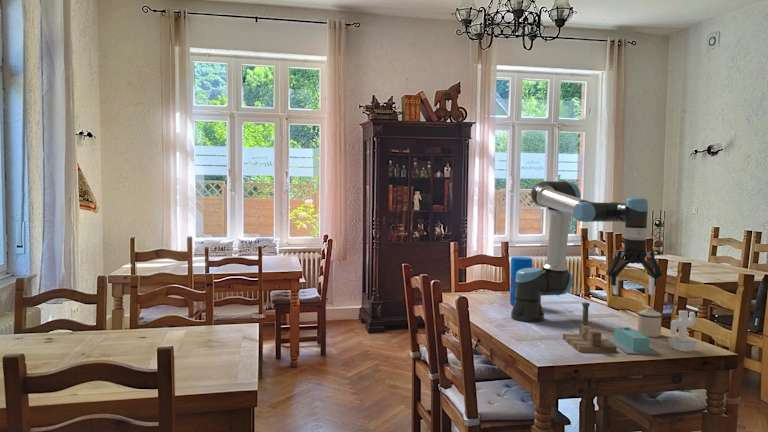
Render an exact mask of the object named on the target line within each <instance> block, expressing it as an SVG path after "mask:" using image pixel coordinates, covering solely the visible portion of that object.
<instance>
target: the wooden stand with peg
mask: <svg viewBox="0 0 768 432" xmlns="http://www.w3.org/2000/svg"><path fill="white" fill-rule="evenodd" d="M590 304H591V303H590V302H585V301H583V302H582V303H581V306H582V323H579V331H578V333H563V334H562V339H563V340H564V341H565V342H566V343H567V344H568V345H569V346H571V347H572V348H573V349H575V350H576V351H577V352H578V353H617V351H618V348H617V347H616V346H614V345H613V344H611V343H610V342H608V341H607V340H605V338H603V337H602V332H601V331H599V330H597V329H596V328H594V327H592V326H591V325H589V307H590Z"/></svg>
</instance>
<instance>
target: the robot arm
mask: <svg viewBox="0 0 768 432" xmlns="http://www.w3.org/2000/svg"><path fill="white" fill-rule="evenodd" d="M530 197H531V201H532V203H534V204H535V205H537V206H539V207H542V208H547V211H548V212H549V213H550V216H549V218H550V219H549V229H548V241H547V253H546V263H544V264H543V265H542V269H541V268H539V267H532V268H524V269H520V270H518V271H517V273H516V279H515V281H516V290H515V303H514V306H512V309H511V312H510V318H511V319H512V320H515V321H521V322H528V323H529V322H530V323H537V322H542V321H544V320H545V313H544V309H543V306H542V296H545V297H546V296H561V295H566V294H567V293H569V292H570V291H571V289H572V287H573V282H574V281H573V277H572V276H573V275H572V273H571V272H570V271H569V267H568V266H567V265H566V261H567V260H566V259H567V249H568V240H569V227H570V218H571V216H572V217H574V219H575V220H576V221H577V222H583V223H589V222H591V223H593V222H601V223H603V222H607V223H609V222H611V223H613V222H616V223H617V222H618V223H625V224H624V238H625V239H624V244H623V247H624V250H623V251H620V250H616V251H615V255H614V258H613V259H612V261H611V263H610V265H609V267H608V268H607V270H606V274H605V275H607V276H610V285H611V286H612V294H613V295H615V296H618V295H619V280H620V278H619V277H618V276H619V275H620V273H621V272H622V271H623V270H624V269H625V268H626V267H627V265H629V264H631V265H632V264H640V265H642V267H644V269H645V270H646V272H647V274H649V275H650V276H649V277H648V293H647V294H648V295H650V296H654V295H655V287H657V281H658V279H659V278H660V277H663V274H662V270H661V269H660V266H659V264H658V263H657V260H656V257H655V256H656V255H655V252H653V251H647V252H646V250H647V233H648V232H647V231H648V214H649V213H648V211H649V207H648V205H649V203H648V200H647V198H643V197H640V198H639V197H638V198H635V197H633V198H632V197H627V198H626V199H625V202H617V201H615V202H613V201H611V202H594V201H589V200H587V199H582V196H581V191H580V188H579V187H578V185H577V184H576V183H575V182H571V181H563V180H562V181H558V180H556V181H549V180H545V181H544V180H543V181H540V182H537V183H536V184H534V186H533V187H532V189H531V191H530ZM622 257H624V258H623V259H622ZM646 257H647V258H648V260H649V263H650V265H651V266H650V265H649V264H648V262H647V260H646V259H645V258H646ZM621 259H622V260H621ZM620 260H621V262H620ZM619 262H620V263H619Z"/></svg>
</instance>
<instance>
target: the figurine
mask: <svg viewBox="0 0 768 432" xmlns="http://www.w3.org/2000/svg"><path fill="white" fill-rule="evenodd" d="M688 315H689V316H688ZM695 323H696V313H695V312H694V311H689V313H688V310H678V319H672V320H671V322H670V334H671V335H677V330H678V335H677V337H667V340H668V343H669V344H670V346H671V348H672V349H673V348H674V350H675V351H678V350H679V352H681V351H684V352H692V351H693V349H694V348H695V347H696V346H697V344H698V342H697V341H696V340H692V339H689V338H687V337H688V336H687V331H688V327H689V328H690V327H694V326H695Z"/></svg>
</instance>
